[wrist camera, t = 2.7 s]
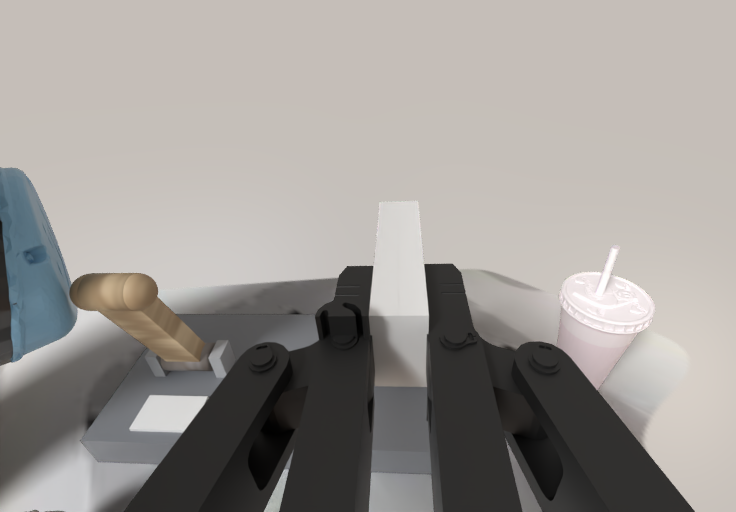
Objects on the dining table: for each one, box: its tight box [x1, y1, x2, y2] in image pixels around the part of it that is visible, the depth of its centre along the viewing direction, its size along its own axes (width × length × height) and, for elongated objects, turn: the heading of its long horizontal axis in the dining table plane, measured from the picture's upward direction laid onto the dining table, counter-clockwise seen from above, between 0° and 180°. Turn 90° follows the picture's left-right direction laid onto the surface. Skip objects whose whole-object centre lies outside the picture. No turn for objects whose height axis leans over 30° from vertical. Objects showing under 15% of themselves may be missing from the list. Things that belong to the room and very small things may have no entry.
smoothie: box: [557, 245, 655, 390], centre depth 31 cm, size 6×6×14 cm
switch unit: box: [80, 314, 431, 474], centre depth 34 cm, size 30×14×6 cm, turn 86°
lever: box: [69, 273, 216, 371], centre depth 29 cm, size 5×2×13 cm, turn 86°
